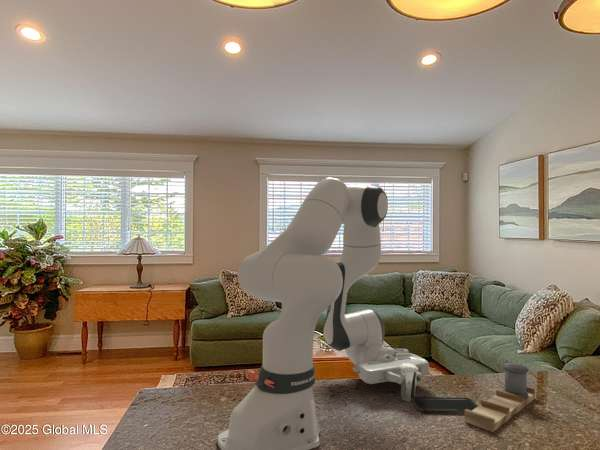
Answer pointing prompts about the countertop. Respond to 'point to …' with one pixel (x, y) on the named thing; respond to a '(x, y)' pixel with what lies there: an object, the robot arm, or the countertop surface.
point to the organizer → (498, 409)
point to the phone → (443, 405)
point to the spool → (516, 379)
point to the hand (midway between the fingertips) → (411, 379)
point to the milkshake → (408, 381)
